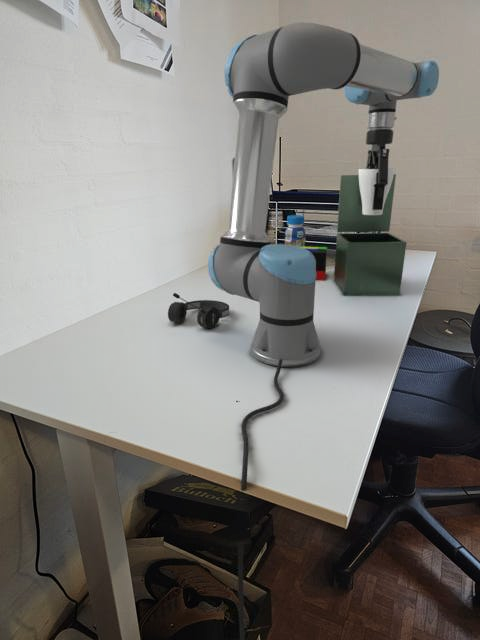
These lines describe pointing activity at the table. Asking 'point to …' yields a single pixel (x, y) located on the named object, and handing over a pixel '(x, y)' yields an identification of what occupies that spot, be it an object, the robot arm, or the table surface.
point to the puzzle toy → (319, 260)
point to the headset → (205, 316)
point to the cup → (372, 189)
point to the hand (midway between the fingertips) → (372, 207)
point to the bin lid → (352, 208)
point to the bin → (369, 263)
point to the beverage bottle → (295, 231)
